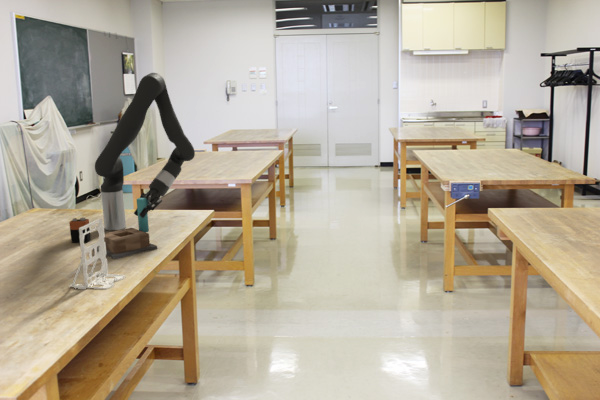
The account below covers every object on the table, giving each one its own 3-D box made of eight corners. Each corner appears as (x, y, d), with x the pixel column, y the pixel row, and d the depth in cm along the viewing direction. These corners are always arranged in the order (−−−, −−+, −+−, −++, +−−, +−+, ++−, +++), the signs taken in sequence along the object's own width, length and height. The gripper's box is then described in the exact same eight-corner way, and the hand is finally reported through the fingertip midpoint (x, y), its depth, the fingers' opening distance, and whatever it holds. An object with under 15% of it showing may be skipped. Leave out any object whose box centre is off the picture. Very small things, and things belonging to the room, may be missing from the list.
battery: (87, 242, 241) (85, 219, 239) (71, 243, 241) (68, 219, 239) (91, 239, 246) (88, 216, 243) (75, 240, 246) (72, 217, 244)
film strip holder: (107, 290, 185) (101, 229, 181) (67, 289, 188) (60, 228, 184) (128, 275, 199) (123, 218, 195) (91, 274, 202) (85, 217, 197)
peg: (137, 231, 246) (134, 198, 243) (145, 229, 249) (143, 197, 246) (142, 233, 244) (139, 200, 241) (150, 231, 246) (148, 198, 243)
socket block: (93, 249, 231) (91, 234, 229) (135, 240, 243) (133, 225, 241) (114, 259, 218) (112, 243, 216) (157, 248, 230) (156, 233, 228)
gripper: (147, 175, 252) (123, 208, 246) (165, 179, 242) (140, 213, 236) (159, 186, 256) (136, 218, 251) (177, 190, 246) (153, 223, 241)
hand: (138, 215), depth 243 cm, fingers closed on peg, 4 cm apart
